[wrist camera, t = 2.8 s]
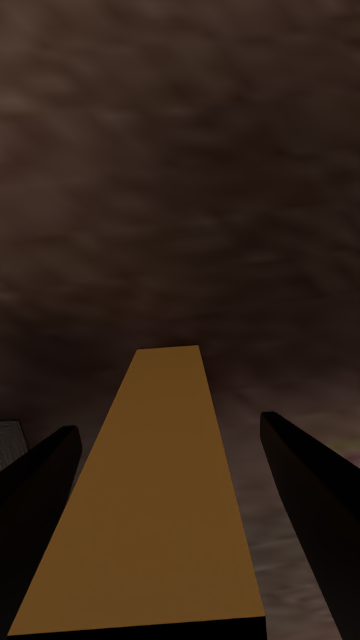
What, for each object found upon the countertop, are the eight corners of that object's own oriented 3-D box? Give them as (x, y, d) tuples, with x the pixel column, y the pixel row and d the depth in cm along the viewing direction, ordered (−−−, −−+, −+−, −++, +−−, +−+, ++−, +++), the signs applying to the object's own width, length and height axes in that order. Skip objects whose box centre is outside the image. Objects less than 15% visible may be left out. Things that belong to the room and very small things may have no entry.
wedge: (203, 430, 9) (316, 1181, 2) (148, 433, 9) (21, 1189, 2) (198, 345, 8) (437, 1306, 1) (136, 349, 8) (-311, 1331, 1)
